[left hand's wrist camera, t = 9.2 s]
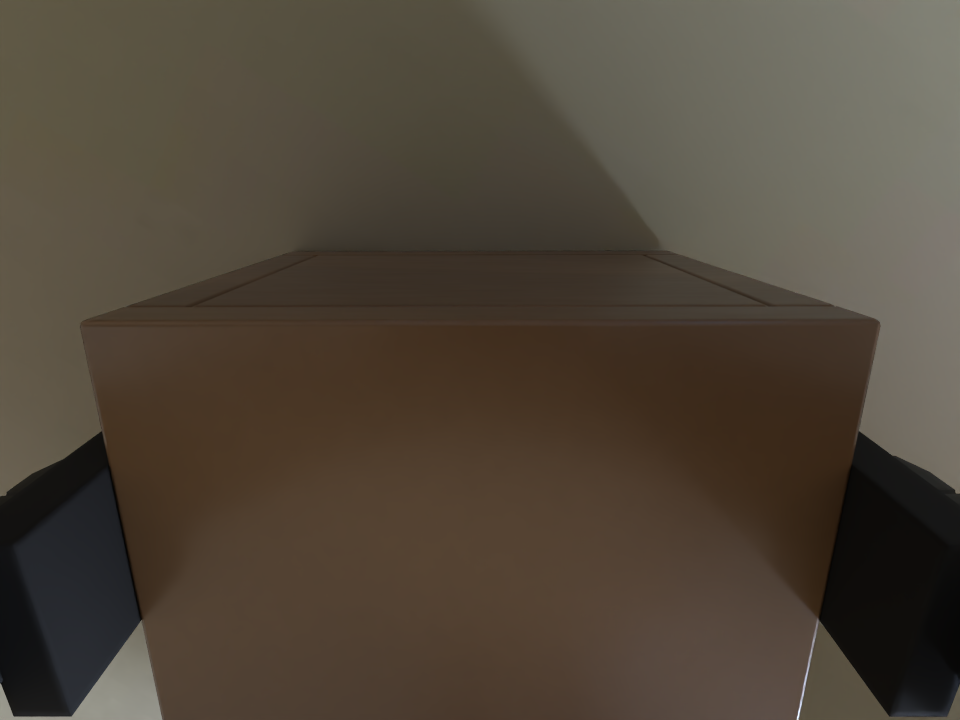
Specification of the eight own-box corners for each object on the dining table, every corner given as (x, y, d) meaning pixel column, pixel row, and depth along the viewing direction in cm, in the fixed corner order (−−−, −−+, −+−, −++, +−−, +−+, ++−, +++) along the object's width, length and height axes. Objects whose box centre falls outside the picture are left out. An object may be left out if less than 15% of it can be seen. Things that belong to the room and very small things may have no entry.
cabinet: (622, 744, 21) (718, 1115, 13) (338, 744, 21) (243, 1115, 13) (669, 250, 16) (884, 319, 7) (290, 251, 16) (75, 320, 7)
